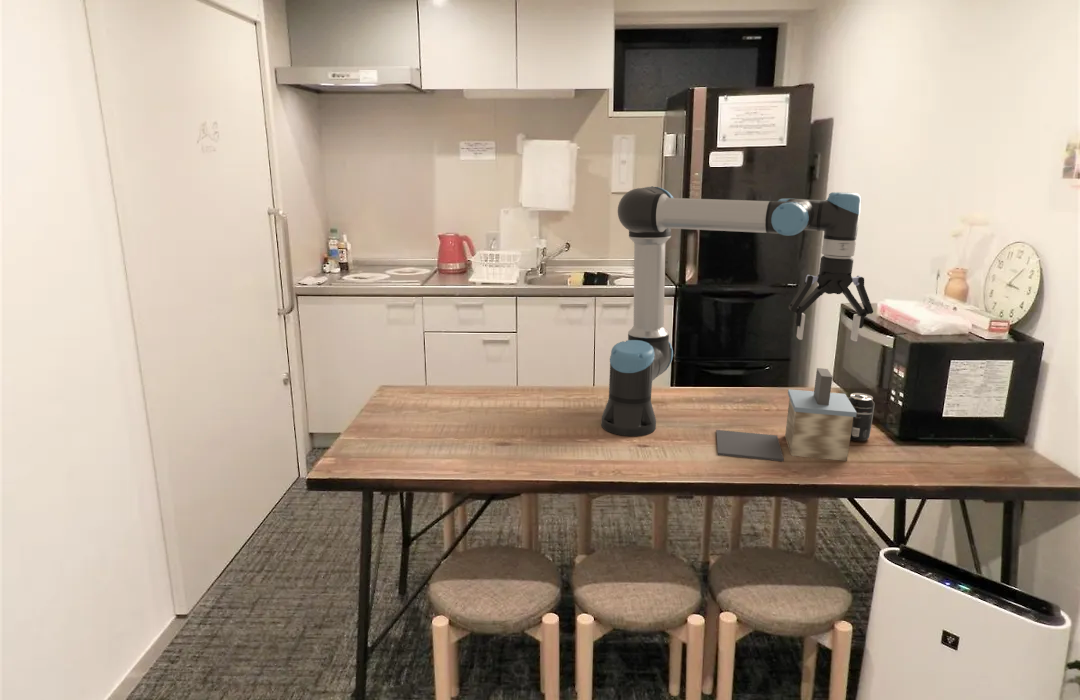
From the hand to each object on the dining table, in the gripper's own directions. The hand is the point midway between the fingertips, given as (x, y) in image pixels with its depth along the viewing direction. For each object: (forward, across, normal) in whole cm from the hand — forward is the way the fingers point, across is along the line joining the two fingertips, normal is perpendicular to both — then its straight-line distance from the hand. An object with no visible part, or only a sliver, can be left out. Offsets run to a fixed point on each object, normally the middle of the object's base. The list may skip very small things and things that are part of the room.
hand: (826, 339), depth 182 cm
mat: (+29, -18, -4) cm, 34 cm away
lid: (+18, 0, -3) cm, 18 cm away
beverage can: (+29, +13, +5) cm, 32 cm away
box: (+28, 0, -3) cm, 29 cm away
